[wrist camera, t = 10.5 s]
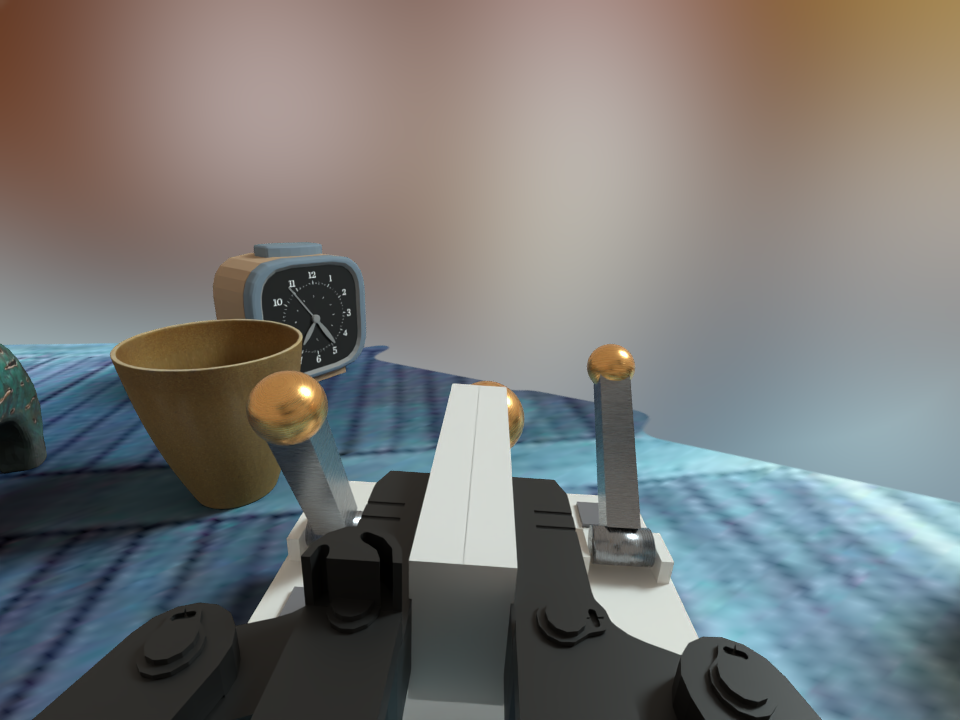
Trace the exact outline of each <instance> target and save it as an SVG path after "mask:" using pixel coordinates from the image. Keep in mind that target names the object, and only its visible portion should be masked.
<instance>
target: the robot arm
mask: <svg viewBox="0 0 960 720" xmlns="http://www.w3.org/2000/svg"><path fill="white" fill-rule="evenodd" d="M301 565H302V575H303V586H304V597H305V606H304V607H302V608H300V609H298V610H296V611H294V612H292V613H289V614H286V615H282V616H279V617H276V618H271V619H266V620H261V621H257V622H252V623H247V624H243V625H238V626H235V623H234V620H233V617H232V615H231V613H230V612H229V611H227V610H226V609H224V608H223V607H221V606H219V605H217V604H208V603H195V604H190V605H185V606H180V607H176V608H174V609H172V610H169V611H167V612H165V613H163V614H160V615H158V616H156V617H154V618H152V619H151V620H149V621H148V622H147V623H145V624H144V625H142V626H141V627H139V628H138V629H137V630H135V631H134V632H132V633H131V634H130V635H129V636H128V637H126V638H125V639H124V640H123V641H122V642H121V643H120V644H118V645H117V646H116V647H115V648H114V649H113V650H112V651H110V652H109V653H108V654H107V655H106V656H105V657H104V658H102V659H101V660H100V661H99V662H98V663H97V664H96V665H94V666H93V667H92V668H91V669H90V670H89V671H88V672H86V673H85V674H84V675H83V676H82V677H81V678H79V679H78V680H77V681H76V682H75V683H74V684H73V685H71V686H70V687H69V688H68V689H67V690H66V691H65V692H63V693H62V694H61V695H60V696H59V697H58V698H57V699H55V700H54V701H53V702H52V703H51V704H50V705H49V706H47V707H46V708H45V709H44V710H43V711H42V712H40V713H39V714H38V715H37V716H36V717H35V718H34V719H32V720H402V718H403V712H404V707H405V701H406V696H407V690H408V699H416V700H429V701H443V702H456V703H470V704H483V705H497V706H503V703H504V720H822V719H821V718H820V717H819V716H818V715H817V713H816V712H815V711H814V710H813V709H812V707H811V706H810V705H809V704H808V703H807V702H806V700H805V699H804V698H803V697H802V696H801V695H800V693H799V692H798V691H797V690H796V689H795V687H794V686H793V685H792V684H791V683H790V682H789V680H788V679H787V678H786V677H785V676H784V675H783V674H782V673H781V672H780V671H779V670H778V669H776V668H775V667H774V666H773V665H772V664H771V663H770V662H769V661H768V660H767V659H766V658H764V657H763V656H761V655H759V654H758V653H756V652H754V651H753V650H751V649H750V648H748V647H746V646H745V645H743V644H740V643H737V642H734V641H731V640H728V639H725V638H722V637H701V638H699V639H696V640H694V641H692V642H690V643H688V645H687V646H686V648H685V650H684V651H683V653H682V655H679V654H677V653H674V652H671V651H669V650H666V649H663V648H660V647H658V646H655V645H652V644H649V643H647V642H644V641H642V640H640V639H637V638H635V637H633V636H631V635H629V634H627V633H626V632H624V631H623V630H622V629H620V628H619V627H617V626H616V625H615V624H614V623H613V622H611V620H610V618H609V616H608V614H607V612H606V610H605V609H604V608H603V607H602V606H601V605H600V604H599V603H598V602H597V601H596V600H595V598H594V596H593V593H592V590H591V587H590V583H589V579H588V575H587V571H586V567H585V563H584V559H583V555H582V551H581V547H580V543H579V539H578V535H577V532H576V527H575V523H574V519H573V516H572V511H571V507H570V503H569V499H568V495H567V494H566V493H565V492H564V491H563V490H562V488H561V487H560V486H559V485H558V484H557V483H556V481H555V480H548V479H533V478H518V477H512V470H511V453H510V437H509V421H508V404H507V388H506V387H497V386H481V385H465V384H452V389H451V393H450V397H449V401H448V405H447V409H446V413H445V417H444V421H443V425H442V429H441V433H440V437H439V441H438V445H437V449H436V453H435V457H434V461H433V465H432V469H431V473H418V472H403V471H390V472H389V473H388V474H386V475H385V476H384V477H383V478H382V479H381V480H379V481H378V482H377V483H376V484H375V486H374V488H373V490H372V492H371V495H370V497H369V499H368V504H366V506H365V508H364V511H363V513H362V516H361V519H360V520H359V522H358V524H357V526H349V527H344V528H341V529H338V530H335V531H332V532H328V533H327V534H325V535H324V536H322V537H320V538H319V539H317V540H316V541H314V542H313V543H312V544H311V545H310V546H309V547H308V548H307V549H306V551H305V552H304V553H303V554H302V555H301Z"/></svg>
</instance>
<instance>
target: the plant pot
mask: <svg viewBox="0 0 960 720" xmlns="http://www.w3.org/2000/svg"><path fill="white" fill-rule="evenodd" d="M301 355H302V333H301V332H300V331H299V330H298V329H296V328H294V327H292V326H290V325H287V324H282V323H278V322H273V321H266V320H254V319H224V320H209V321H199V322H191V323H185V324H179V325H173V326H168V327H164V328H160V329H155V330H151V331H148V332H145V333H142V334H139V335H136V336H133V337H131V338H128V339H126V340H124V341H123V342H121V343H119V344H118V345H116V346H115V347H114V348H113V349H112V351H111V353H110V357H111V360H112V362H113V364H114V366H115V369H116V371H117V373H118V375H119V377H120V380H121V382H122V384H123V386H124V388H125V390H126V392H127V394H128V396H129V398H130V401H131V403H132V405H133V407H134V409H135V411H136V413H137V414H138V416H139V418H140V420H141V422H142V423H143V425H144V427H145V429H146V430H147V432H148V434H149V436H150V437H151V439H152V440H153V442H154V444H155V445H156V447H157V448H158V450H159V451H160V453H161V454H162V456H163V457H164V459H165V460H166V462H167V463H168V464H169V466H170V467H171V469H172V470H173V471H174V473H175V474H176V475H177V476H178V478H179V479H180V480H181V481H182V483H183V484H184V485H185V486H186V488H187V489H188V490H189V491H190V492H191V493H192V495H193V496H194V497H195V498H196V499H197V500H198V501H199V502H200V503H201V504H202V505H204V506H207V507H210V508H214V509H229V508H235V507H240V506H243V505H247V504H250V503H252V502H254V501H256V500H258V499H260V498H262V497H264V496H265V495H267V494H268V493H269V492H270V491H271V490H272V489H273V488H274V487H275V485H276V483H277V480H278V477H279V474H280V471H281V468H280V466H279V464H278V463H277V461H276V459H275V457H274V455H273V453H272V451H271V449H270V447H269V445H268V444H267V442H266V441H265V440H264V439H262V438H260V437H259V436H258V435H257V434H256V433H255V432H254V431H253V429H252V428H251V426H250V424H249V422H248V418H247V413H246V406H247V401H248V397H249V395H250V393H251V391H252V389H253V388H254V387H255V386H256V384H257V383H258V382H259V381H260V380H262V379H263V378H265V377H266V376H268V375H270V374H272V373H275V372H279V371H285V370H292V371H299V372H300V367H301Z"/></svg>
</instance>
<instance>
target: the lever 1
mask: <svg viewBox="0 0 960 720" xmlns="http://www.w3.org/2000/svg"><path fill="white" fill-rule="evenodd" d="M327 411H328V401H327V397H326V394H325V392H324V390H323V388H322V387H321V385H320V384H319V383H318V382H317V381H316V380H315V379H314V378H312V377H311V376H309V375H307V374H305V373H302V372H299V371H292V370H285V371H279V372H275V373H272V374H270V375H268V376H266V377H265V378H263V379H262V380H260V381H259V382H258V383H257V384H256V386H255V387H254V388H253V389H252V391H251V393H250V395H249V397H248V401H247V406H246V413H247V418H248V422H249V424H250V426H251V428H252V429H253V431H254V432H255V433H256V434H257V435H258V436H259V437H260V438H262V439H264V440H265V441H266V442H267V444H268V445H269V447H270V449H271V451H272V453H273V455H274V457H275V459H276V461H277V463H278V464H279V466H280V468H281V470H282V472H283V474H284V476H285V478H286V480H287V482H288V484H289V485H290V487H291V489H292V491H293V493H294V495H295V497H296V499H297V501H298V503H299V504H300V506H301V508H302V510H303V512H304V514H305V516H306V518H307V520H308V521H307V525H306V531H305V541H306V545H307V546H308V547H309V546H310V545H311V544H312V543H313V542H314V541H316V540H317V539H319V538H320V537H322V536H324V535H325V534H327V533H328V532H332V531H335V530H338V529H341V528H344V527H349V526H357V524H358V522H359V520H360V519H361V516H362V513H363V511H357V505H356V502H355V499H354V496H353V493H352V490H351V487H350V485H349V482H348V479H347V476H346V473H345V470H344V467H343V464H342V461H341V458H340V455H339V452H338V450H337V447H336V444H335V441H334V438H333V435H332V432H331V429H330V426H329V423H328V420H327V418H326V416H327Z"/></svg>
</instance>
